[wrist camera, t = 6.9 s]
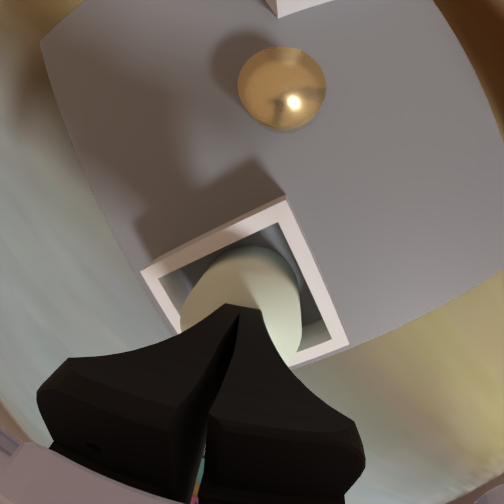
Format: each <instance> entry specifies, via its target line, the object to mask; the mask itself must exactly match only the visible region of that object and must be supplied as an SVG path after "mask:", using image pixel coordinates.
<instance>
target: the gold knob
mask: <svg viewBox="0 0 504 504" xmlns="http://www.w3.org/2000/svg"><path fill="white" fill-rule="evenodd" d="M238 94H239V97H240V100H241V102H242V104H243V105H244V107H245V108H246V110H247V111H248V112H249V114H250V115H251V116H252V117H253V119H254V120H255V121H256V122H257V123H258V124H259V125H260V126H262V127H263V128H265V129H267V130H269V131H272V132H276V133H292V132H296V131H298V130H300V129H302V128H304V127H305V126H307V125H308V124H309V123H310V122H311V121H312V120H313V118H314V117H315V115H316V113H317V112H318V110H319V108H320V107H321V105H322V103H323V101H324V99H325V95H326V80H325V76H324V73H323V71H322V69H321V67H320V66H319V64H318V63H317V62H316V61H315V60H314V59H313V58H312V57H311V56H309V55H308V54H306V53H305V52H303V51H301V50H298V49H295V48H291V47H284V46H277V47H271V48H267V49H264V50H261V51H259V52H257V53H256V54H254V55H253V56H252V57H251V58H249V59H248V60H247V62H246V63H245V64H244V66H243V67H242V69H241V71H240V74H239V77H238Z"/></svg>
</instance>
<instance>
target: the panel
mask: <svg viewBox="0 0 504 504" xmlns="http://www.w3.org/2000/svg"><path fill="white" fill-rule="evenodd" d="M39 45H40V49H41V53H42V56H43V60H44V64H45V67H46V71H47V74H48V77H49V81H50V84H51V87H52V90H53V93H54V96H55V99H56V102H57V105H58V108H59V111H60V114H61V117H62V119H63V122H64V125H65V127H66V130H67V133H68V135H69V138H70V140H71V143H72V146H73V148H74V150H75V153H76V155H77V158H78V160H79V163H80V165H81V167H82V170H83V172H84V174H85V177H86V179H87V181H88V183H89V185H90V188H91V190H92V192H93V194H94V196H95V199H96V201H97V203H98V205H99V207H100V209H101V211H102V213H103V215H104V217H105V219H106V221H107V223H108V225H109V227H110V229H111V231H112V233H113V235H114V237H115V239H116V241H117V243H118V245H119V246H120V248H121V250H122V252H123V254H124V256H125V258H126V259H127V261H128V263H129V265H130V267H131V268H132V270H133V272H134V274H135V276H136V277H137V279H138V281H139V282H140V284H141V286H142V288H143V289H144V291H145V293H146V294H147V296H148V298H149V299H150V301H151V303H152V304H153V306H154V308H155V309H156V311H157V312H158V314H159V316H160V317H161V319H162V320H163V322H164V324H165V325H166V327H167V328H168V330H169V331H170V333H171V334H172V336H176V335H178V334H180V333H182V332H181V327H180V315H181V310H182V307H183V304H184V302H185V300H186V298H187V297H188V295H189V294H190V292H191V291H192V290H193V288H194V287H195V286H196V284H197V283H198V281H199V280H200V279H201V277H202V276H203V274H204V273H205V272H206V270H207V269H208V268H209V266H210V265H211V263H212V262H213V261H214V260H215V259H216V258H217V257H218V256H219V255H220V254H221V253H223V252H224V251H226V250H228V249H230V248H233V247H236V246H240V245H258V246H263V247H266V248H269V249H271V250H273V251H275V252H277V253H278V254H280V255H281V256H282V257H284V258H285V259H286V260H287V261H288V263H289V264H290V265H291V267H292V268H293V270H294V272H295V274H296V277H297V280H298V284H299V296H300V309H301V323H302V337H301V341H300V345H299V347H298V350H297V351H296V353H295V355H294V356H293V357H292V359H291V360H290V361H289V362H288V363H287V364H286V365H287V366H288V367H289V369H290V370H293V369H296V368H299V367H302V366H305V365H308V364H311V363H313V362H316V361H319V360H322V359H324V358H327V357H330V356H332V355H335V354H337V353H340V352H342V351H345V350H347V349H350V348H352V347H355V346H357V345H360V344H362V343H364V342H367V341H369V340H371V339H374V338H376V337H378V336H381V335H383V334H385V333H387V332H389V331H392V330H394V329H396V328H398V327H400V326H402V325H404V324H406V323H409V322H411V321H413V320H415V319H417V318H419V317H421V316H423V315H425V314H427V313H429V312H430V311H432V310H434V309H436V308H438V307H440V306H442V305H444V304H446V303H447V302H449V301H451V300H453V299H455V298H456V297H458V296H460V295H462V294H464V293H465V292H467V291H469V290H470V289H472V288H474V287H475V286H477V285H479V284H480V283H482V282H484V281H485V280H487V279H489V278H490V277H492V276H493V275H495V274H497V273H498V272H500V271H501V270H503V269H504V144H503V141H502V138H501V135H500V132H499V129H498V126H497V123H496V120H495V118H494V115H493V112H492V110H491V107H490V105H489V102H488V100H487V97H486V95H485V93H484V90H483V88H482V86H481V84H480V81H479V79H478V77H477V75H476V73H475V71H474V69H473V67H472V65H471V63H470V61H469V59H468V57H467V55H466V53H465V51H464V50H463V48H462V46H461V44H460V42H459V41H458V39H457V37H456V36H455V34H454V32H453V31H452V29H451V27H450V26H449V24H448V22H447V21H446V19H445V18H444V16H443V15H442V13H441V12H440V10H439V9H438V7H437V6H436V4H435V3H434V2H433V0H85V1H84V2H82V3H81V4H80V5H79V6H77V7H76V8H75V9H74V10H73V11H71V12H70V13H69V14H68V15H67V16H66V17H65V18H63V19H62V20H61V21H60V22H59V23H58V24H57V25H56V26H55V27H54V28H53V29H52V30H51V31H49V32H48V33H47V34H46V35H45V36H44V37H43V38H42V39H41V40H40V41H39ZM277 46H284V47H291V48H295V49H298V50H301V51H303V52H305V53H306V54H308V55H309V56H311V57H312V58H313V59H314V60H315V61H316V62H317V63H318V64H319V66H320V67H321V69H322V71H323V73H324V76H325V80H326V95H325V99H324V101H323V103H322V105H321V107H320V108H319V110H318V112H317V113H316V115H315V117H314V118H313V120H312V121H311V122H310V123H309V124H308V125H307V126H305V127H304V128H302V129H300V130H298V131H296V132H292V133H276V132H272V131H269V130H267V129H265V128H263V127H262V126H260V125H259V124H258V123H257V122H256V121H255V120H254V119H253V117H252V116H251V115H250V114H249V112H248V111H247V110H246V108H245V107H244V105H243V104H242V102H241V100H240V97H239V94H238V77H239V74H240V71H241V69H242V67H243V66H244V64H245V63H246V62H247V60H248V59H249V58H251V57H252V56H253V55H254V54H256V53H257V52H259V51H261V50H264V49H267V48H271V47H277Z"/></svg>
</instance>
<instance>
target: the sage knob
mask: <svg viewBox="0 0 504 504" xmlns="http://www.w3.org/2000/svg"><path fill="white" fill-rule="evenodd" d="M225 303H227V304H233V305H238V306H243V307H249V308H255V309H260V310H261V312H262V314H263V319H264V322H265V325H266V328H267V330H268V333H269V335H270V337H271V339H272V342H273V343H274V345H275V347H276V349H277V351H278V352H279V354H280V356H281V357H282V359H283V360H284V362H285V363H286V364H287V363H288V362H289V361H290V360H291V359H292V357H293V356H294V355H295V353H296V351H297V350H298V347H299V345H300V341H301V337H302V323H301V309H300V296H299V284H298V280H297V277H296V274H295V272H294V270H293V268H292V267H291V265H290V264H289V263H288V261H287V260H286V259H285V258H284V257H282V256H281V255H280V254H278V253H277V252H275V251H273V250H271V249H269V248H266V247H263V246H258V245H240V246H236V247H233V248H230V249H228V250H226V251H224V252H223V253H221V254H220V255H219V256H218V257H217V258H216V259H215V260H214V261H213V262H212V263H211V265H210V266H209V268H208V269H207V270H206V272H205V273H204V274H203V276H202V277H201V279H200V280H199V281H198V283H197V284H196V286H195V287H194V288H193V290H192V291H191V292H190V294H189V295H188V297H187V298H186V300H185V302H184V304H183V307H182V310H181V315H180V327H181V332H183V331H185V330H187V329H188V328H190V327H192V326H194V325H195V324H197V323H198V322H200V321H201V320H203V319H204V318H205V317H207V316H208V315H210V314H211V313H212V312H214V311H215V310H216V309H218V308H219V307H220V306H221V305H223V304H225Z"/></svg>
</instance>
